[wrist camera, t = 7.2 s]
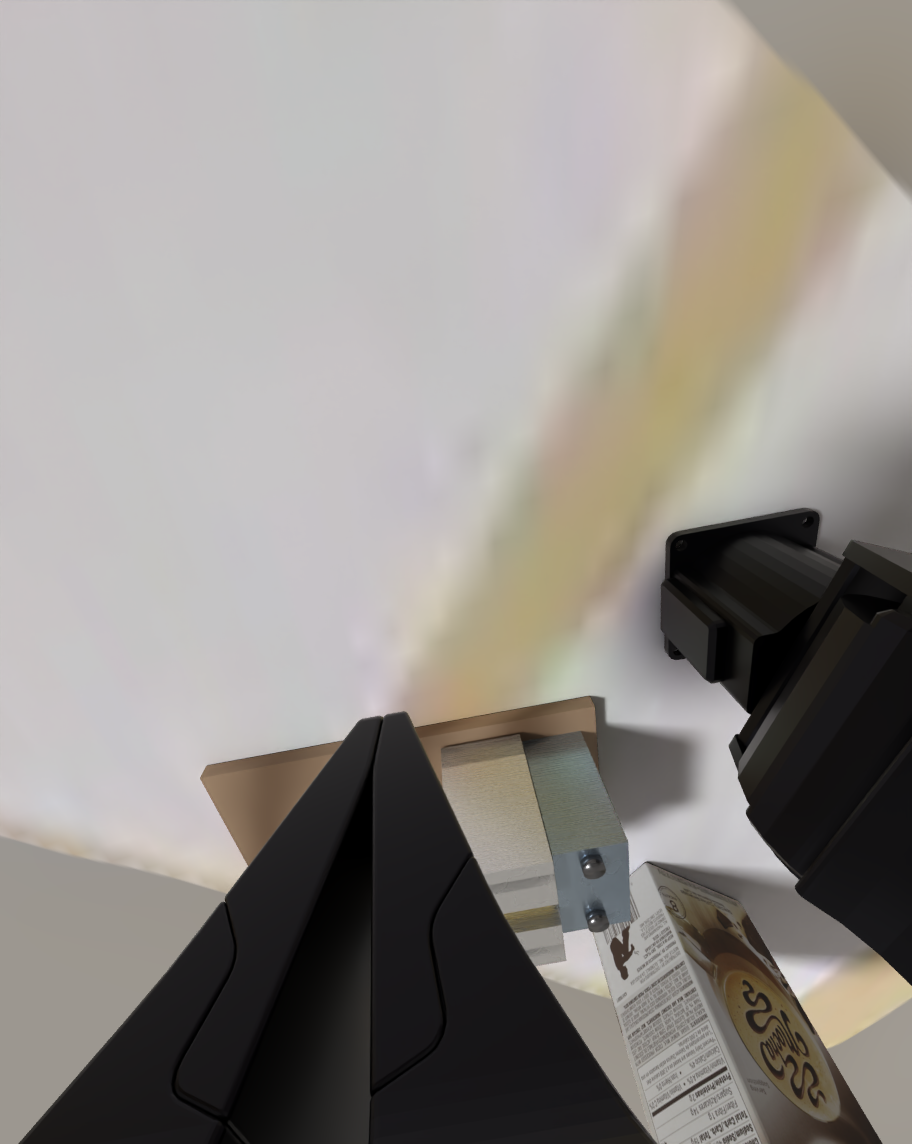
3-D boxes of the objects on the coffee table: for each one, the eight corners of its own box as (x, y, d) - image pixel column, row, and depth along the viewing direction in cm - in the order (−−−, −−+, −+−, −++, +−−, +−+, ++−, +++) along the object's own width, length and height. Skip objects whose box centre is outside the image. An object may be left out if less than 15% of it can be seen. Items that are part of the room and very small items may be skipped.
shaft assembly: (353, 843, 26) (334, 983, 20) (327, 776, 24) (296, 911, 18) (586, 802, 26) (634, 931, 20) (580, 730, 24) (632, 851, 18)
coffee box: (743, 898, 32) (1013, 1350, 18) (678, 949, 34) (872, 1393, 20) (645, 857, 30) (862, 1341, 15) (581, 914, 32) (719, 1391, 17)
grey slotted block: (462, 836, 26) (474, 976, 20) (440, 748, 24) (447, 880, 18) (533, 823, 26) (566, 960, 20) (519, 734, 24) (552, 861, 18)
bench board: (589, 696, 24) (594, 706, 23) (597, 804, 28) (601, 816, 27) (206, 765, 24) (200, 778, 24) (259, 865, 28) (255, 878, 27)
